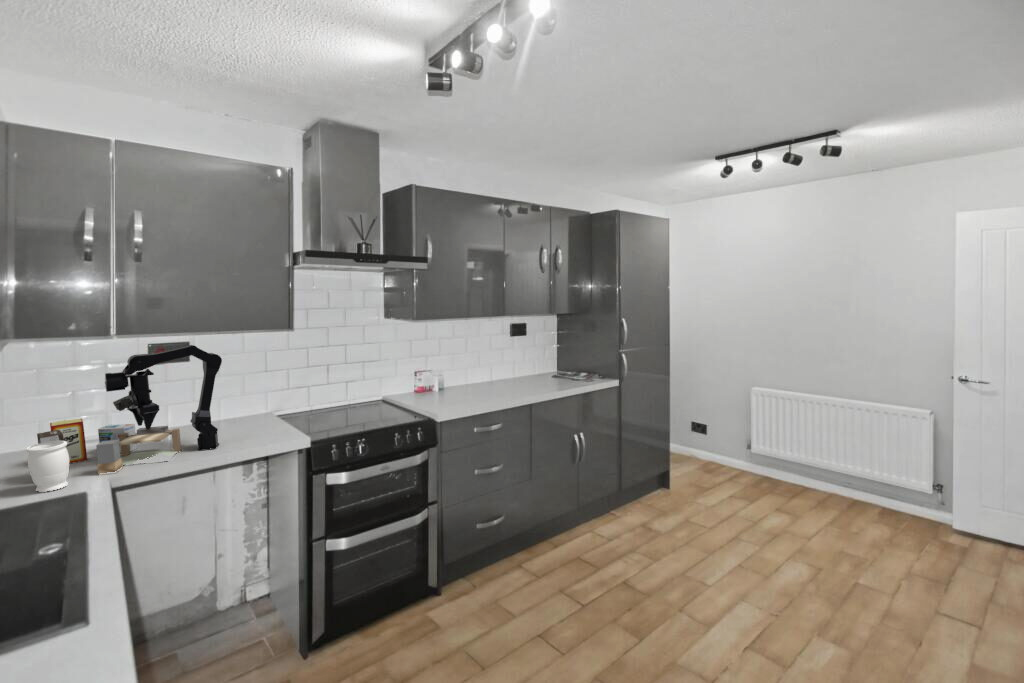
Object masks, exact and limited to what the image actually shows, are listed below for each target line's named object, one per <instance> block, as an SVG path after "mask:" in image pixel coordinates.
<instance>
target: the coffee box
mask: <svg viewBox="0 0 1024 683" xmlns="http://www.w3.org/2000/svg"><path fill="white" fill-rule="evenodd" d="M36 437H37V444H39V443H44V442H51V441H64V439H63V433H62V432H61V431H60V430H54V431H51V430H49V431H43V432H39V433H36Z"/></svg>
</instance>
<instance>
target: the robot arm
mask: <svg viewBox="0 0 1024 683" xmlns="http://www.w3.org/2000/svg"><path fill="white" fill-rule="evenodd" d="M191 356H193V357H194V358H196V359H198V360H200V361H202V371H203V376H202V377H203V379H202V384H201V390H200V395H199V401H198V406H197V410H196V411H195V412H194V411H192V412H191V419H190V423H191V426H192V428H193V429H195V430H196V431H197V432H198V434H197V435H198V436H197V439H196V442H197V448H198V451H203V450H202V449H208V450H211V449H210V448H216V447H217V446H218V445H219V444H221V443H220V442H219V439H218V438H219V437H218V435H219V434H218V428H217V427H216V426H215V425H213V424H212V416H211V415H212V414H211V404H212V400H213V399H212V398H213V393H214V388H215V387H214V386H215V381H216V376H217V374H218V373H219V371H220V369H221V366H222V362H223V361H222V360H223V358H222V357H221V356H220V355H218V354H216V353H213V352H207V351H205V350H203V349H201V348H199V347H197V346H196V345H194V344H193V345H192V344H189V345H186V346H183V347H178V348H173V349H169V350H165V351H161V352H156V353H140V354H138V353H137V354H133V355H130V356H129V358H128V359H127V364H126V366H125V368H123V370H122V371H121V372H120V371H119V372H106V373H104V374H105V379H104V380H105V381H104V384H105V385H104V387H105V391H106V392H107V393H108V392H109V393H110V392H114V391H115V392H116V391H124V390H125V391H126V388H128V387H129V386H130V390H128V395H125V396H124V397H122V398H119V399H117V400H114V401H113V402H112V404H113V405H114V407H115V409H116V410H117V411H119V412H121V411H124V410H125V409H126V410H128V411H129V412H131V413H132V415H133V416H134V419H135V421H136V423H137V426H139V427H140V426H142V425H143V423H144V428H146V429H147V430H148V429H150V428H151V427H152V425H153V423H154V420H155V418H156V416H157V413H159V411H160V405H159V404H157V403H155V402H153V400H152V399H151V393H152V389H150V384H149V382H150V381H149V376H154V375H155V373H154V372H153V371H152V370H150V368H151V367H153V366H155V365H159V364H161V363H165V362H169V361H172V360H177V359H178V360H179V359H181V358H185V357H191ZM219 446H220V445H219ZM219 446H218V447H219ZM218 447H217V448H218ZM217 448H216V449H217Z"/></svg>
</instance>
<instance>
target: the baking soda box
mask: <svg viewBox="0 0 1024 683" xmlns="http://www.w3.org/2000/svg"><path fill="white" fill-rule="evenodd" d="M49 426H50V431H54V430H60V431H61V432H62V433H63V439H64V441H67V445H66V449H67V451H68V454H69V463H71V464H74V463H73V462H76V463H79V462H78V461H81V462H85V461H84V460H86V461H88V454H87V446H86V437H85V435H86V434H85V429H84V428H85V427H84V420H83V418H81V417H80V418H76V419H75V418H74V419H67V420H66V419H64V420H59V421H54V422H50V423H49Z"/></svg>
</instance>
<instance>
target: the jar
mask: <svg viewBox="0 0 1024 683" xmlns="http://www.w3.org/2000/svg"><path fill="white" fill-rule="evenodd" d="M66 445H67V441H51V442H44V443H39V444H38V443H37V444H32V445H30V446H28V447H26V450H25V452H26V453H28V456H27V468H28V471H29V473H30V476H31V480H32V482H33V483H34V484H35V486H36V488H35V492H36V491H39V492H38V493H48V492H47V491H50V492H54V491H53V490H55V491H58V490H61V489H63V487H64V488H65V486H66V487H67V486H68V485H69V482H68V481H67V479H68V477H69V471H70V470H69V469H70V464H69V454H68V451H67V449H66ZM60 488H61V489H60ZM57 489H58V490H57Z"/></svg>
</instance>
